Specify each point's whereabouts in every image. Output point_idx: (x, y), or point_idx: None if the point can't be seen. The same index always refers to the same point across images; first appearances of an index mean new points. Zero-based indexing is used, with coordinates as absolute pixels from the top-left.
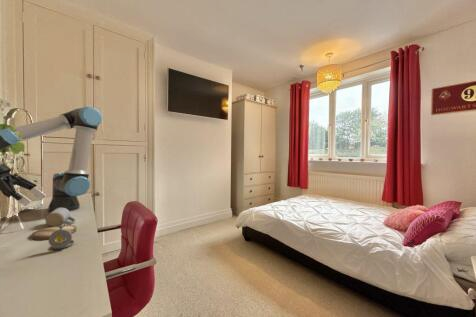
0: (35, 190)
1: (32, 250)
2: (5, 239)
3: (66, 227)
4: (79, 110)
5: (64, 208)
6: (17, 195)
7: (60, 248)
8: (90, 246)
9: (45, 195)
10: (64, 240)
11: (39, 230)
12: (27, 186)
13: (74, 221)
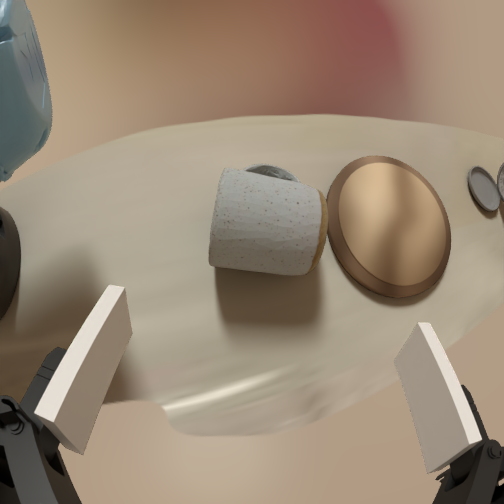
0: (80, 396)
1: (494, 251)
2: None
3: (370, 186)
4: None
5: (232, 178)
6: (478, 414)
7: (496, 192)
8: (482, 142)
9: (119, 290)
10: (472, 185)
11: (381, 278)
12: (69, 498)
13: (271, 167)
